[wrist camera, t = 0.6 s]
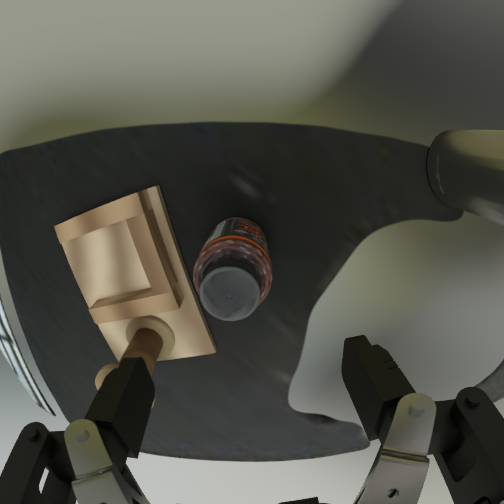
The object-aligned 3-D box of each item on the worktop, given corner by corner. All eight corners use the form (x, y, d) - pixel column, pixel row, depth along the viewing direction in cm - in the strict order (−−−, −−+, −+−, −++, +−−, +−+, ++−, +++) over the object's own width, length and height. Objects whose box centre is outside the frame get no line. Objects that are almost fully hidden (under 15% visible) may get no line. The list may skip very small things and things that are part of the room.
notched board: (158, 184, 26) (146, 188, 23) (216, 347, 33) (213, 366, 29) (60, 223, 27) (43, 231, 24) (123, 360, 34) (114, 376, 30)
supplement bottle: (278, 236, 28) (296, 286, 18) (245, 281, 30) (243, 348, 19) (229, 203, 27) (215, 234, 16) (197, 251, 29) (169, 305, 18)
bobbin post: (163, 310, 30) (134, 369, 20) (182, 351, 32) (164, 413, 22) (120, 318, 30) (84, 371, 21) (141, 356, 32) (115, 413, 23)
